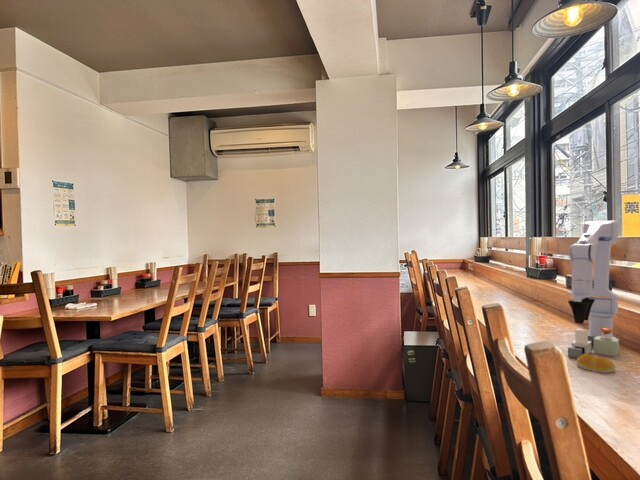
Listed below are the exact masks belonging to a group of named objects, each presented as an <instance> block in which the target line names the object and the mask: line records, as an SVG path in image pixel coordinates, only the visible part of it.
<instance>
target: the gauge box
mask: <svg viewBox="0 0 640 480" xmlns="http://www.w3.org/2000/svg"><path fill="white" fill-rule="evenodd" d="M593 353H594V354H599V355H605V356H612V357H617V356H618V354H619V353H620V338H617V337H616V338H611V340H604V339H602V336H596V337H595V338H594V345H593Z"/></svg>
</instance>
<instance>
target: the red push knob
mask: <svg viewBox="0 0 640 480" xmlns="http://www.w3.org/2000/svg"><path fill="white" fill-rule="evenodd" d="M600 331H602V339H604V340H611V332H614V330H613V329H610V328H600Z"/></svg>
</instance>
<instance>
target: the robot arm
mask: <svg viewBox="0 0 640 480" xmlns="http://www.w3.org/2000/svg"><path fill="white" fill-rule="evenodd" d="M582 231H583V232H582V235H580V238H579V239H577V241H576V243H573V244H572V245H570V246H569V251H568V254H569V255H568V256H569V261H570V263H569V264H570V266H571V291H570V292H568V291H567V293H566V294H567V295H568V296H571V297H573V300H571V299H570V300H568V301H567V302H568V304H569V307H570V308H571V311H572V314H573V320H574V322H575V324H581V325H583V324H584V322H585V321H588V336H595V337H596V336H602V331H600V328H610V329H613V328H614V327H613V323H614V322H613V317H616V316H617V315H618V313H619V302H618V299H619V298H618V296H617V294H616V293H614V292H613V291H612V290H610V288H609V287H610V285H609V283H610V261H611V259H610V257H611V249H612V246H613V245H615V244H617V243H618V240H619V239H618V237H619V234H618V233H619V225H618V221H616V220H614V219H613V220H591V221H590V220H589V221H588V220H586V221H585V222H584V223H583V227H582ZM593 262H594V266H593ZM593 267H594V269H593ZM613 332H614V331H613ZM613 332H611V338H616V339H617V337H615V336H613Z"/></svg>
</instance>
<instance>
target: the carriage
mask: <svg viewBox="0 0 640 480" xmlns="http://www.w3.org/2000/svg"><path fill="white" fill-rule="evenodd" d="M574 331H575V332H574V333H575V334H574V335H575V336H574V340H573V341H572V342H571V348H576V347H577V346H578V347H584V348H585V353H584V354H591V352H592V346H591V341H588V336H589V329H584V328H576V329H575V330H574Z"/></svg>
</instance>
